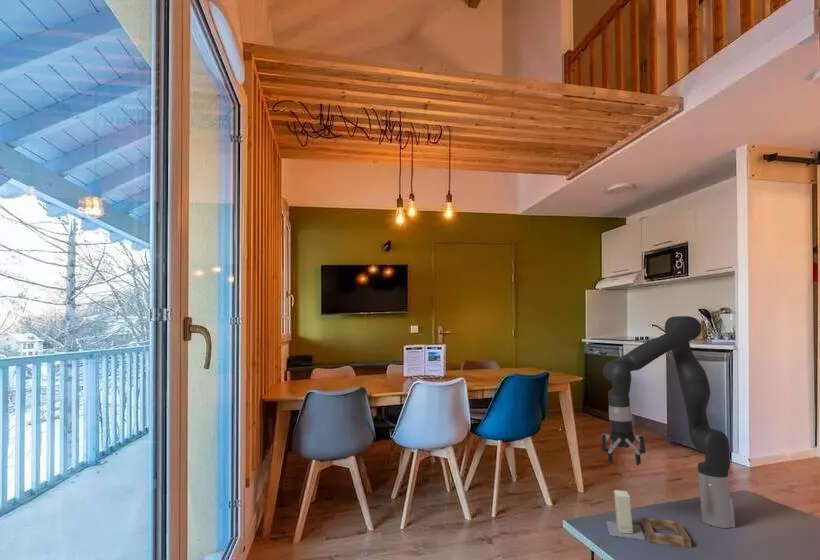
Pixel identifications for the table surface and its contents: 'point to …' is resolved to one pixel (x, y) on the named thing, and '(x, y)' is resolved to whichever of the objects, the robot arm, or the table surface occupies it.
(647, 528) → the frame
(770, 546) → the table surface
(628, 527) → the skincare box
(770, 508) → the table surface
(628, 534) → the slate mat
